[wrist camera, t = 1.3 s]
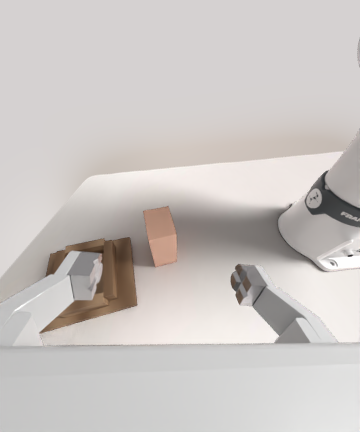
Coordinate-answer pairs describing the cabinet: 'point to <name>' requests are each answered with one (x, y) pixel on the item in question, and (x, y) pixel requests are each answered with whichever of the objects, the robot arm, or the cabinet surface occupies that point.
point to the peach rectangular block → (161, 235)
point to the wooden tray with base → (107, 286)
